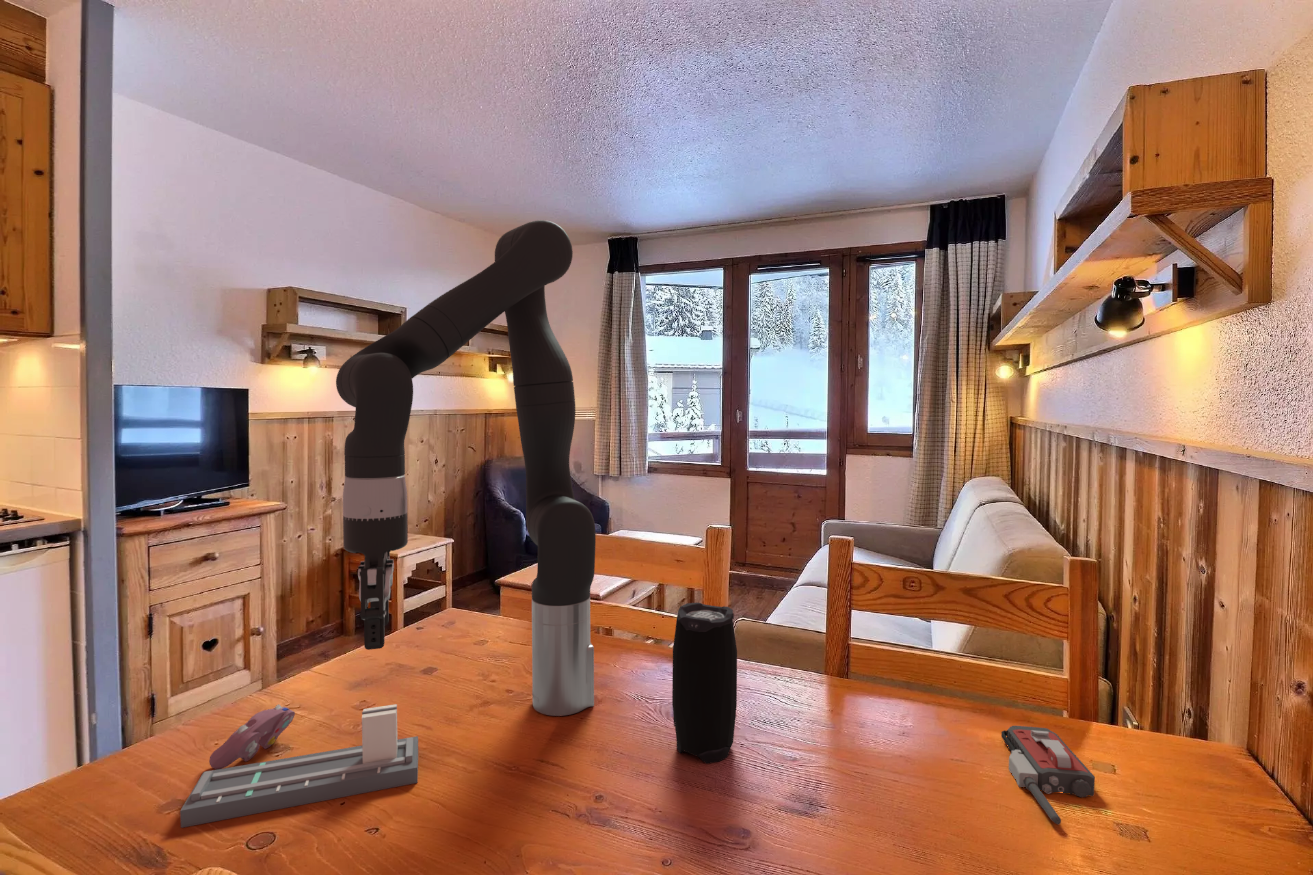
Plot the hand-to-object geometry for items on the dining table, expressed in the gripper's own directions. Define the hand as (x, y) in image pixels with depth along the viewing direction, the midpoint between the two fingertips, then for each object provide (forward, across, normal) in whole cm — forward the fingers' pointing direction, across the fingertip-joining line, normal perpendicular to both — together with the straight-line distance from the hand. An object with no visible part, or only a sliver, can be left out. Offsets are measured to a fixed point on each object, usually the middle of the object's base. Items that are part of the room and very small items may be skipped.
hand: (377, 636), depth 81 cm
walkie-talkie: (+18, -31, -81) cm, 88 cm away
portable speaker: (+18, -9, -42) cm, 47 cm away
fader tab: (+16, 0, 0) cm, 16 cm away
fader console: (+18, 0, +8) cm, 20 cm away
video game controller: (+18, +11, +16) cm, 27 cm away
